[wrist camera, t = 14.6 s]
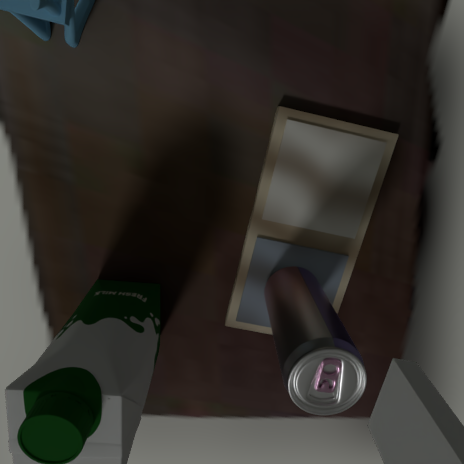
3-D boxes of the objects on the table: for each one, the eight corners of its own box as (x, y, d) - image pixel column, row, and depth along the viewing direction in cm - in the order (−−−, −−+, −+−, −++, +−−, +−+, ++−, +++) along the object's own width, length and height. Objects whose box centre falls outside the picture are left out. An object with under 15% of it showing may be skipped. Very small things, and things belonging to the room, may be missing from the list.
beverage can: (323, 267, 40) (379, 352, 26) (311, 317, 42) (357, 422, 27) (269, 260, 40) (294, 341, 25) (259, 310, 41) (277, 413, 27)
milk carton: (169, 276, 41) (123, 413, 22) (165, 347, 44) (122, 523, 25) (88, 270, 41) (-28, 405, 22) (90, 342, 44) (-13, 517, 25)
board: (277, 106, 36) (279, 105, 35) (393, 134, 37) (400, 134, 36) (225, 320, 43) (225, 327, 42) (324, 338, 44) (327, 346, 43)
